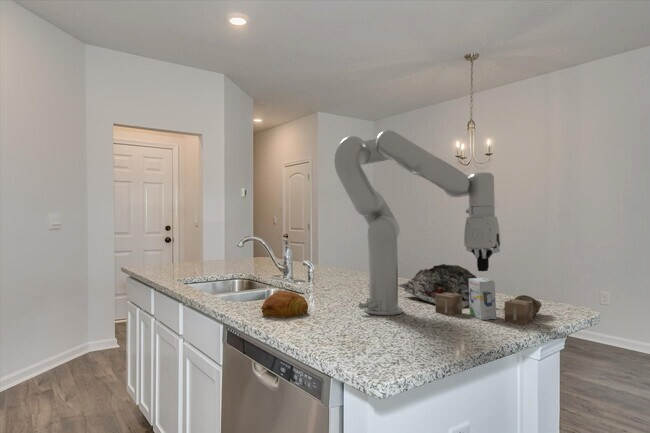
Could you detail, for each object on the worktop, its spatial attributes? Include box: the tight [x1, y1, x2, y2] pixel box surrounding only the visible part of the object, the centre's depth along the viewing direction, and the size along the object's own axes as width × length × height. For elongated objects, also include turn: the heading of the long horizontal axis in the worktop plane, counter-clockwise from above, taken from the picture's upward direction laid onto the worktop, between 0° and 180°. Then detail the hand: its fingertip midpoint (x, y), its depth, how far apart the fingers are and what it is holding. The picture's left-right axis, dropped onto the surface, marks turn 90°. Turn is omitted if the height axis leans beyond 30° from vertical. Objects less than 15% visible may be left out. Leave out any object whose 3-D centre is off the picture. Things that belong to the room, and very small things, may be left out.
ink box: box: [468, 277, 497, 321], centre depth 131 cm, size 9×5×12 cm, turn 5°
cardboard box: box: [435, 292, 463, 317], centre depth 136 cm, size 6×6×6 cm
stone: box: [502, 294, 542, 316], centre depth 132 cm, size 13×8×8 cm
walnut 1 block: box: [504, 298, 534, 326], centre depth 124 cm, size 6×6×6 cm
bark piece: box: [398, 263, 478, 309], centre depth 157 cm, size 19×8×30 cm
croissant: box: [260, 291, 309, 318], centre depth 137 cm, size 14×16×8 cm
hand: (482, 270), depth 130 cm, fingers closed
